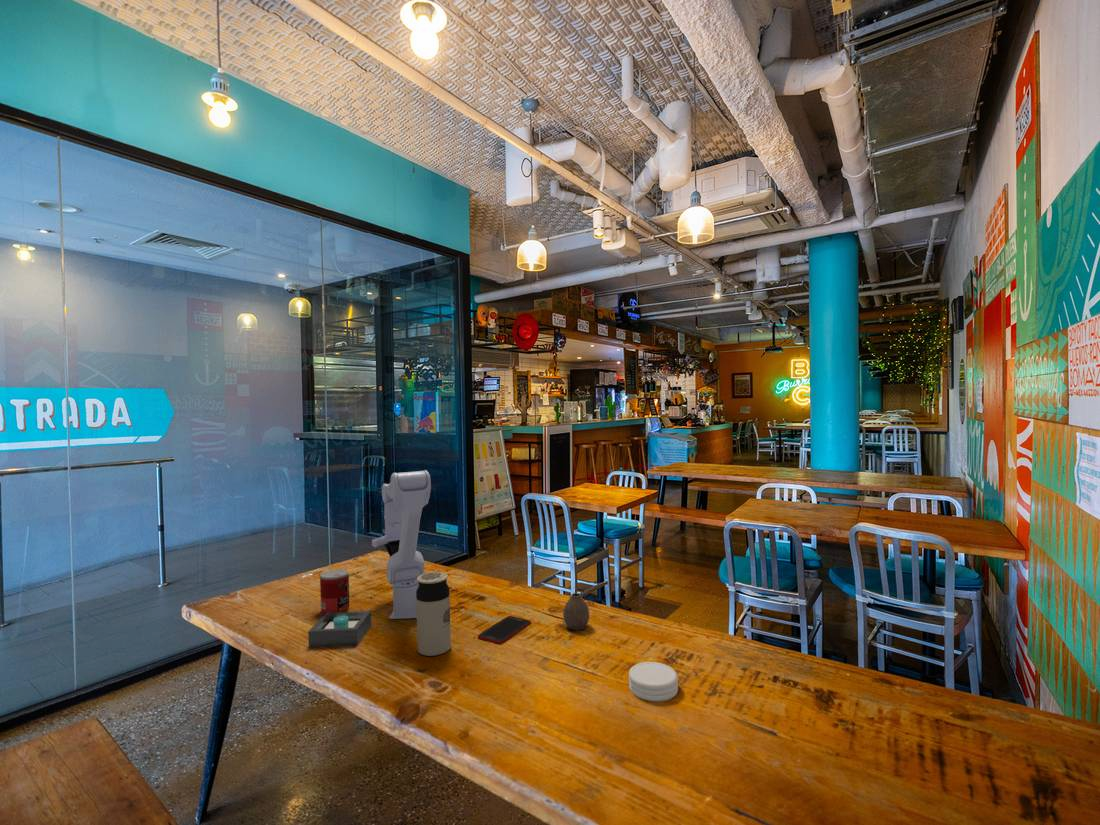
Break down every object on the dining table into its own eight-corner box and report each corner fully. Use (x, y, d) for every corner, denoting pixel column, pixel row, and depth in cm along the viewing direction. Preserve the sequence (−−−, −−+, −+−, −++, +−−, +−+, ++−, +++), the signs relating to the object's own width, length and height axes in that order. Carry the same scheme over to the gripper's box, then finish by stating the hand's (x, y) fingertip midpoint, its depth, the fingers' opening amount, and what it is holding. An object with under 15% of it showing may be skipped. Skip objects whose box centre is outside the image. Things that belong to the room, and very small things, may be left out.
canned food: (343, 615, 150) (342, 577, 150) (316, 615, 151) (314, 577, 150) (354, 605, 158) (352, 569, 158) (328, 605, 158) (326, 569, 158)
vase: (589, 622, 142) (589, 590, 142) (589, 633, 135) (588, 599, 135) (564, 621, 142) (563, 589, 142) (562, 632, 136) (561, 599, 135)
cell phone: (476, 639, 133) (476, 636, 133) (509, 618, 146) (508, 615, 146) (500, 646, 129) (500, 642, 129) (532, 624, 142) (532, 620, 142)
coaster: (641, 706, 102) (641, 689, 102) (621, 681, 112) (621, 664, 112) (687, 698, 105) (686, 680, 105) (663, 673, 114) (663, 657, 114)
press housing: (371, 625, 143) (370, 610, 143) (357, 645, 131) (356, 629, 131) (326, 627, 142) (326, 612, 142) (308, 647, 130) (308, 631, 130)
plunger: (363, 623, 141) (363, 611, 141) (352, 638, 133) (352, 624, 132) (330, 625, 141) (330, 612, 141) (317, 639, 132) (317, 626, 132)
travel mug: (410, 652, 126) (408, 579, 126) (432, 639, 133) (430, 569, 133) (436, 659, 123) (434, 583, 122) (457, 645, 130) (455, 573, 129)
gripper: (407, 515, 171) (408, 556, 171) (366, 524, 160) (367, 567, 161) (419, 518, 166) (420, 560, 167) (378, 527, 155) (379, 572, 156)
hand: (395, 564), depth 163 cm, fingers closed
